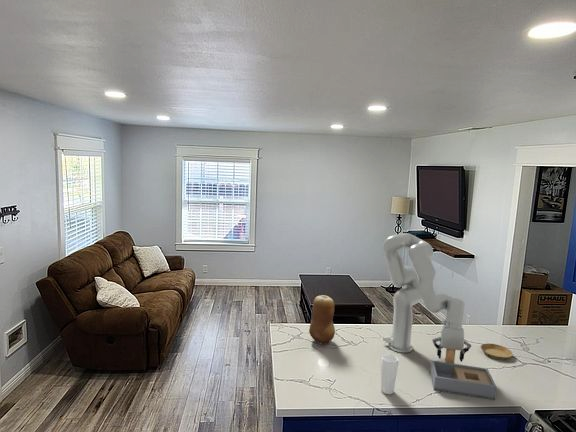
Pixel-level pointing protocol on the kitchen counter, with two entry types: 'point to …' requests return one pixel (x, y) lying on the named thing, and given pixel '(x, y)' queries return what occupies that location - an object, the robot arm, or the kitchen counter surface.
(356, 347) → the kitchen counter surface
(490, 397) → the box
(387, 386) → the drinking glass
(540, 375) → the kitchen counter surface
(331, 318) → the butternut squash
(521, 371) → the kitchen counter surface
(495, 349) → the plant saucer
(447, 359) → the peg
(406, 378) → the kitchen counter surface
